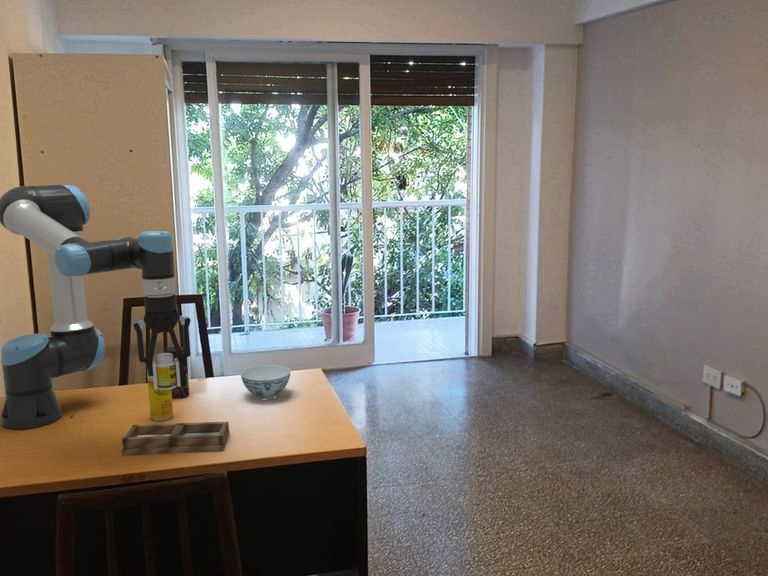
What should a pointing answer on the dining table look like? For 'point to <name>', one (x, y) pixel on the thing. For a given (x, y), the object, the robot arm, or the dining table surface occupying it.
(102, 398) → the dining table surface
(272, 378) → the chinaware
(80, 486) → the dining table surface
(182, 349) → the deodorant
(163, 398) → the yellow canister
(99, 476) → the dining table surface
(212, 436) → the divided tray
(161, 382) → the supplement bottle
